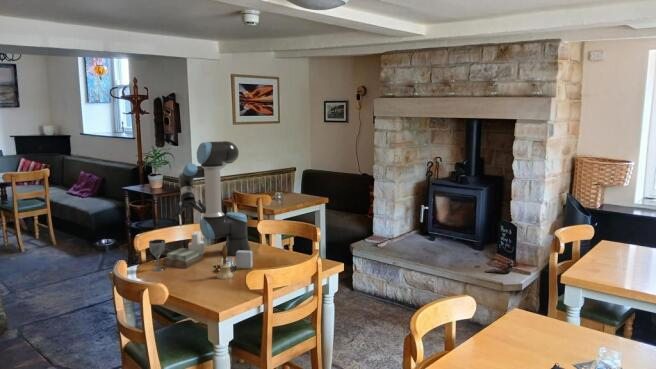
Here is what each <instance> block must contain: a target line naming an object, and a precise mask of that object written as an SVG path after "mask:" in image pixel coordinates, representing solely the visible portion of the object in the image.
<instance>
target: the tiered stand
mask: <svg viewBox="0 0 656 369" xmlns="http://www.w3.org/2000/svg"><path fill="white" fill-rule="evenodd" d="M202 261H204V254H201V255H200V254H199V250H194V249H189V248H184V247H180V248H179V247H178V249H174V250H172V251H169V252H168V253H166V258H164V259H163V260H162V265H163V266H168V267H176V268H180V269H181V268H182V269H188V268H190V267H192V266H194V265H196V264H199V263H200V262H202Z"/></svg>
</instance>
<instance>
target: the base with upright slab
mask: <svg viewBox="0 0 656 369" xmlns="http://www.w3.org/2000/svg"><path fill="white" fill-rule="evenodd" d="M205 244H206V243H205V241H203V240H202V232H201V230H195V231H194V232H193V233H192V234H191V241H190V242H188V244H187V245H188V249H194V250H199V254H200V255H204V254H205V253H206V250H205V249H206V248H205V247H206V246H205Z"/></svg>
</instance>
